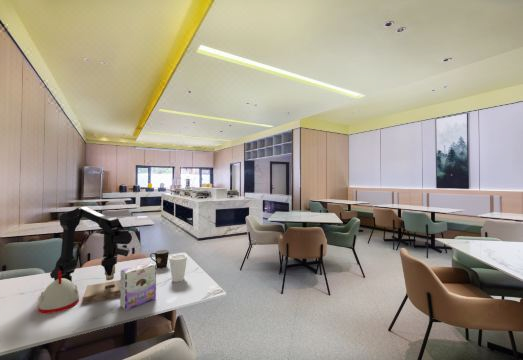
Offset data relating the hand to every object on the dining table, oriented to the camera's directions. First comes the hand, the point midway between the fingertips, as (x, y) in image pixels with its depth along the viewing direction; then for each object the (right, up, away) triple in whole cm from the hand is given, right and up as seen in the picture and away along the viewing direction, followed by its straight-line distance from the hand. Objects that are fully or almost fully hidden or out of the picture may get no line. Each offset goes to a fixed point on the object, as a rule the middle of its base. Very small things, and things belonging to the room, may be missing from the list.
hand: (109, 274), depth 120 cm
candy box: (+19, -10, -10) cm, 24 cm away
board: (-2, -9, -1) cm, 9 cm away
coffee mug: (+9, -10, +38) cm, 40 cm away
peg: (0, -3, 0) cm, 2 cm away
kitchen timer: (-15, -9, -12) cm, 22 cm away
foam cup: (+29, -10, +16) cm, 34 cm away
